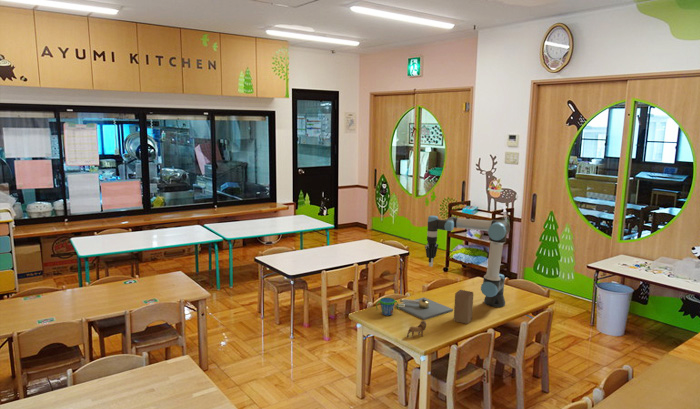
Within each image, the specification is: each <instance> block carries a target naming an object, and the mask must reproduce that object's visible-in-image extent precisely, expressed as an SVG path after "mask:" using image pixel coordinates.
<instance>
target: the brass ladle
mask: <svg viewBox="0 0 700 409" xmlns="http://www.w3.org/2000/svg"><path fill="white" fill-rule="evenodd" d="M398 301H399V303H400V304H401V303H412V304H419V307H420V308H429V301H428V300H426V299H422V300H420V301H417V300H416V299H407V298H399V300H398Z"/></svg>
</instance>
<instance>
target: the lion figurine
mask: <svg viewBox="0 0 700 409" xmlns="http://www.w3.org/2000/svg"><path fill="white" fill-rule="evenodd" d="M426 328H427V322H426V320H422V321H420V323H419V324H418V325H417V326H416V325H415V326H414V325H412V326H410V327H409V329H408V330H407V331H408V332H407V333H406V334H407V335H406V338H409V337H410V335H409V334H410V333H411V336H412V338H414V339H415V338H416V336H414V334H415V333H417V335H419V336H420V335H421V337H424V335H423V334H424V331H425V330H426Z"/></svg>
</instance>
